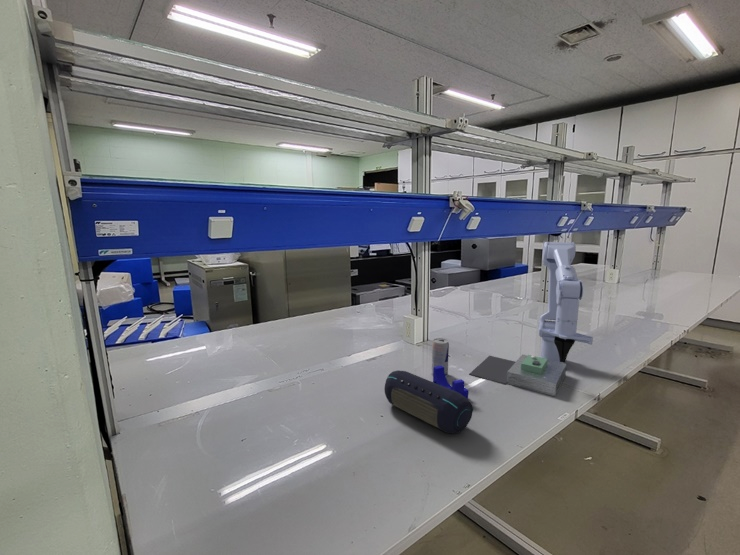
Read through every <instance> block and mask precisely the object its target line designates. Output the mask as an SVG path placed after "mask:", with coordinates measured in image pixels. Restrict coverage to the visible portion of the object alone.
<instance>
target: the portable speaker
mask: <svg viewBox="0 0 740 555" xmlns="http://www.w3.org/2000/svg"><path fill="white" fill-rule="evenodd" d="M384 394H385V397H386V399H387V401H388V403H389V404H391V405H392V406H394V407H396V408H398V409H400V410H402V411H403V412H406V413H408V414H409V415H412V416H414V417H415V418H418V419H419V420H421V421H424V422H425V423H427V424H429V425H431V426H433V427H435V428H438V430H439V429H440V430H441V431H443V432H444V433H448V434H458V433H462V431H463V430H464V429H466V428H467V427H468V425H469V423H470V421H471V420H472V417H473V412H474V406H473V403H472V402H471V401H470V400H469V398H468V399H467V398H466V397H464V396H463V395H461V394H460V393H458V392H456V391H454V390H451V389H449V388H446V387H444V386H441V385H439V384H436V383H434V382H433V381H431V380H428V379H426V378H424V377H421V376H420V375H419V376H418V375H417V374H414V373H412V372H408V371H405V370H393V371H392V372H391V373H389V374H388V376H387V378H386V379H385V383H384Z"/></svg>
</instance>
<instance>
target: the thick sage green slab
mask: <svg viewBox="0 0 740 555" xmlns="http://www.w3.org/2000/svg"><path fill="white" fill-rule="evenodd" d="M547 362H548V359H545V358H541V356H535V355H530V354H527V357H526V359H525V360H524V361H523V362H522V363H521V369H522V370H526V371H530V372H534V373H538V374H542V372H543V371H544V369H545V367H546V366H547Z"/></svg>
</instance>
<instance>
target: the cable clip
mask: <svg viewBox="0 0 740 555" xmlns="http://www.w3.org/2000/svg"><path fill="white" fill-rule="evenodd" d="M432 382H434V383H436V384H439V385H441V386H444V387H446V388H449V389H451V390H454V391H456V392H458V393H460V394H461V395H463V396H464V397H466V398H467V399H468V400H469V389H467V388H466V386H465V381H464V379H461V378H460V379H457V380H453V381H452V384H450V383H449V381H448V379H447V376H446V377H445V372H444V367H443V366H436V367H433V375H432Z"/></svg>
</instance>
